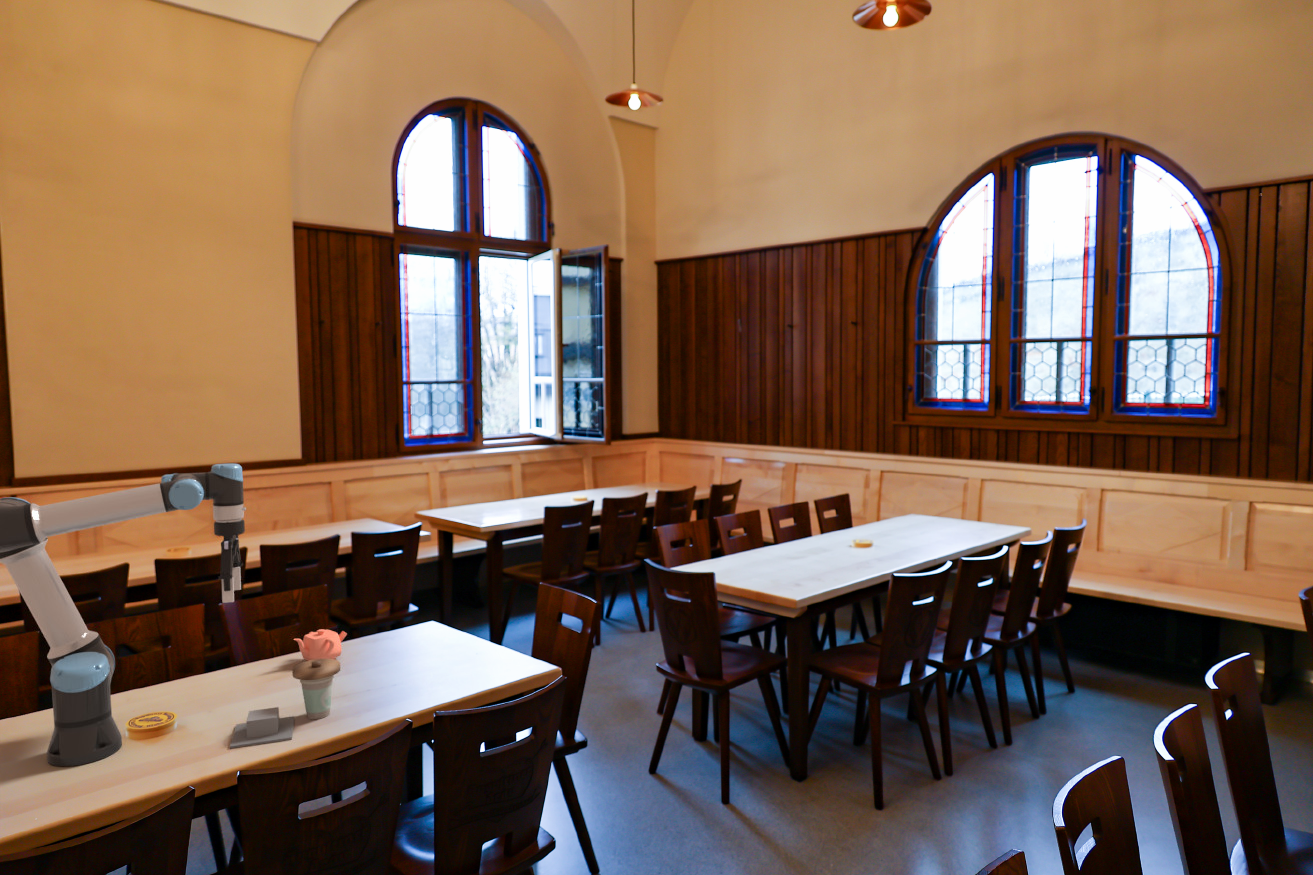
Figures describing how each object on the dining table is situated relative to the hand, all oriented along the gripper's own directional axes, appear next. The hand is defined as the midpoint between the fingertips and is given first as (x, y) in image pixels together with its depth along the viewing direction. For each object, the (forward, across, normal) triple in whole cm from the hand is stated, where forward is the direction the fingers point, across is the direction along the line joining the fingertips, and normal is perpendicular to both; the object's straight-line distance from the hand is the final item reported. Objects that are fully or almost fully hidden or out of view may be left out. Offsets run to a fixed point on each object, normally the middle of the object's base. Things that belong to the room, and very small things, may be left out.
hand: (232, 595), depth 231 cm
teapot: (+31, +31, -21) cm, 49 cm away
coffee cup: (+31, -15, -22) cm, 41 cm away
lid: (+19, -15, -22) cm, 33 cm away
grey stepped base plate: (+31, -22, -9) cm, 39 cm away
